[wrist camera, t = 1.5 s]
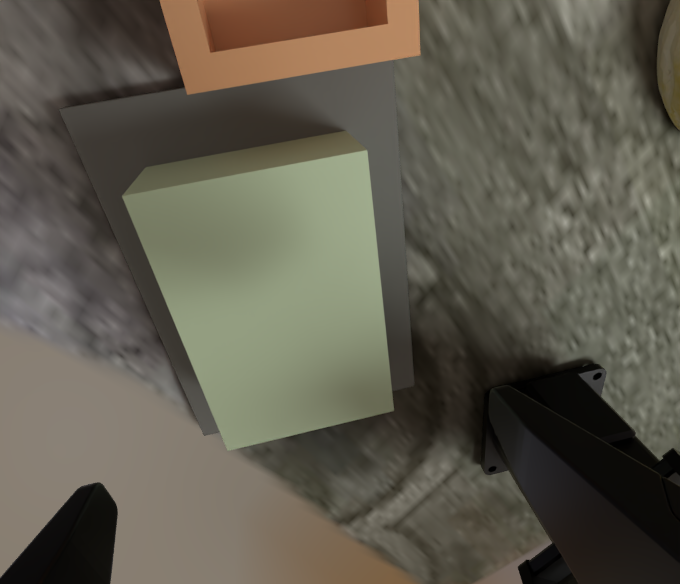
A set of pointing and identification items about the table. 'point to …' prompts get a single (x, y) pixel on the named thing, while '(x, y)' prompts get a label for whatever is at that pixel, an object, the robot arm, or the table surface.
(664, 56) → the bread roll
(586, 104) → the table surface
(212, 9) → the dish
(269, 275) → the lid
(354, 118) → the mat
